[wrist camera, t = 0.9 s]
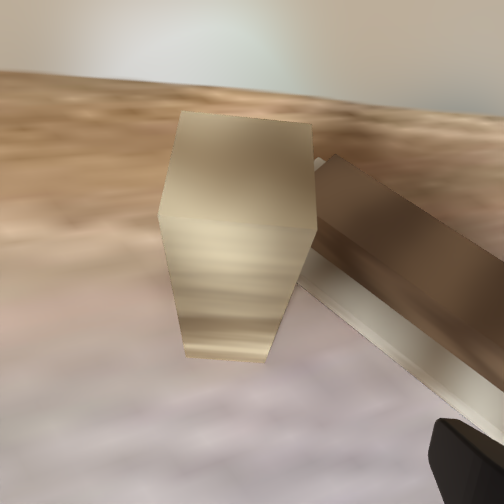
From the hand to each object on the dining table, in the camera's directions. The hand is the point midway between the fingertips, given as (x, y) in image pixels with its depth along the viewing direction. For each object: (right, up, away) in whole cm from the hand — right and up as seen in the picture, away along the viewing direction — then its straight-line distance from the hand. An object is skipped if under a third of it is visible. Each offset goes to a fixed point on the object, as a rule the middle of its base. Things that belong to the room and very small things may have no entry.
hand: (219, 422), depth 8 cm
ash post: (-1, -1, +15) cm, 15 cm away
